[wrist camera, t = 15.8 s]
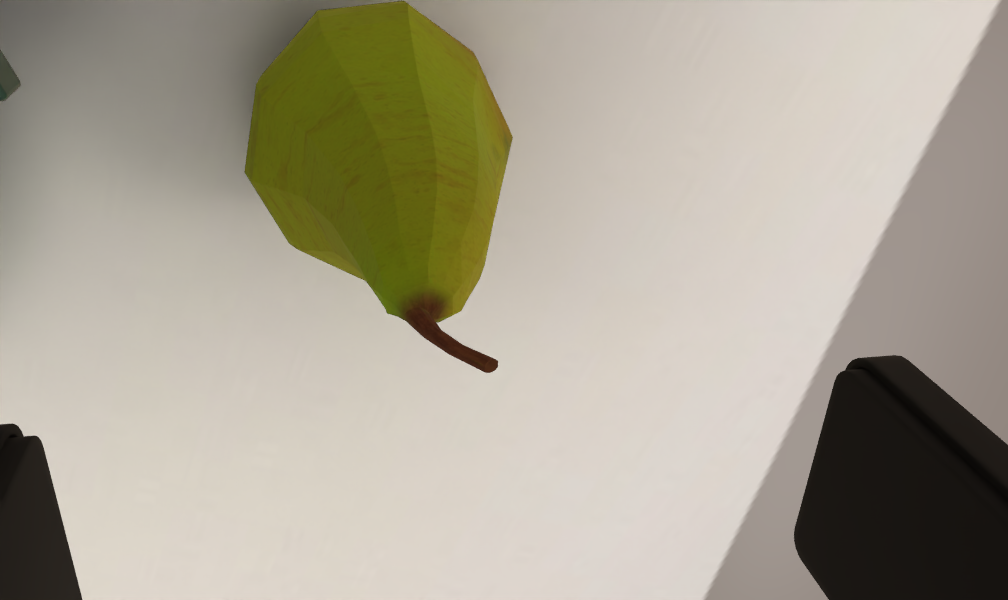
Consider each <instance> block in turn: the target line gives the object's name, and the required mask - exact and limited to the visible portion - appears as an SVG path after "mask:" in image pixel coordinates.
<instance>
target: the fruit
mask: <svg viewBox="0 0 1008 600" xmlns="http://www.w3.org/2000/svg"><path fill="white" fill-rule="evenodd" d="M512 138H513V137H512V135H511V132H510V130H509V128H508V125H507V123H506V121H505V119H504V117H503V115H502V112H501V110H500V108H499V106H498V104H497V102H496V100H495V97H494V95H493V93H492V91H491V89H490V86H489V84H488V82H487V80H486V78H485V75H484V73H483V71H482V69H481V66H480V64H479V62H478V60H477V58H476V56H475V55H474V53H473V52H472V51H471V50H470V49H468V48H467V47H466V46H464V45H463V44H462V43H460V42H459V41H458V40H456V39H455V38H453V37H452V36H451V35H449V34H448V33H447V32H445V31H444V30H443V29H441V28H440V27H439V26H437V25H436V24H435V23H433V22H432V21H431V20H429V19H428V18H427V17H425V16H424V15H422V14H421V13H420V12H418V11H417V10H416V9H414V8H413V7H412V6H410V5H409V4H408V3H406V2H405V1H397V2H388V3H379V4H370V5H362V6H353V7H344V8H335V9H326V10H318V11H317V12H316V13H315V14H314V15H313V16H312V18H311V19H310V20H309V21H308V22H307V23H306V24H305V26H304V27H303V28H302V29H301V30H300V31H299V33H298V34H297V35H296V36H295V37H294V38H293V39H292V41H291V42H290V43H289V44H288V45H287V46H286V47H285V49H284V50H283V51H282V52H281V53H280V54H279V55H278V57H277V58H276V59H275V60H274V61H273V62H272V64H271V65H270V66H269V67H268V68H267V69H266V70H265V72H264V73H263V74H262V75H261V77H260V78H259V80H258V82H257V84H256V89H255V97H254V104H253V112H252V119H251V127H250V134H249V142H248V149H247V157H246V164H245V174H246V175H247V177H248V179H249V180H250V182H251V183H252V185H253V187H254V188H255V190H256V191H257V193H258V194H259V196H260V198H261V199H262V201H263V202H264V204H265V206H266V207H267V209H268V210H269V212H270V214H271V215H272V217H273V218H274V220H275V222H276V223H277V225H278V226H279V228H280V230H281V231H282V233H283V234H284V236H285V238H286V239H287V241H288V242H289V244H291V245H292V246H294V247H295V248H296V249H298V250H300V251H302V252H305V253H307V254H309V255H311V256H313V257H315V258H317V259H320V260H322V261H324V262H326V263H328V264H330V265H333V266H335V267H337V268H339V269H341V270H343V271H345V272H348V273H350V274H352V275H354V276H356V277H358V278H361V279H363V280H365V281H366V282H367V283H368V284H369V286H370V287H371V288H372V290H373V291H374V293H375V294H376V295H377V297H378V298H379V300H380V301H381V303H382V304H383V306H384V307H385V309H386V312H387V313H388V314H392V315H395V316H398V317H400V318H401V319H403V320H405V321H407V322H408V323H409V324H410V325H411V326H412V327H413V328H414V329H415V330H416V331H417V332H419V333H420V334H421V335H422V336H423V337H424V338H426V339H427V340H429V341H430V342H432V343H433V344H435V345H436V346H437V347H439V348H440V349H442V350H443V351H445V352H446V353H448V354H450V355H452V356H454V357H456V358H458V359H460V360H462V361H464V362H466V363H468V364H470V365H472V366H474V367H476V368H477V369H479V370H481V371H483V372H486V373H490V372H492V371H495V370H496V368H497V367H498V361H497V360H496V359H493V358H491V357H489V356H487V355H484V354H482V353H480V352H478V351H475V350H473V349H471V348H469V347H466V346H464V345H462V344H461V343H459V342H458V341H456V340H455V339H453V338H452V337H451V336H449V335H448V334H446V333H445V332H443V331H442V330H441V329H440V328H439V326H438V325H437V323H436V322H440V321H442V320H444V319H446V318H448V317H450V316H452V315H454V314H456V313H458V312H460V311H461V310H462V308H463V307H464V305H465V303H466V301H467V299H468V297H469V296H470V294H471V292H472V291H473V289H474V287H475V286H476V284H477V283H478V281H479V279H480V276H481V273H482V270H483V268H484V265H485V260H486V255H487V250H488V245H489V241H490V236H491V231H492V226H493V221H494V217H495V212H496V208H497V204H498V199H499V195H500V190H501V186H502V182H503V177H504V173H505V169H506V164H507V160H508V155H509V151H510V147H511V142H512Z"/></svg>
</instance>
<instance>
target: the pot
mask: <svg viewBox="0 0 1008 600" xmlns="http://www.w3.org/2000/svg"><path fill="white" fill-rule="evenodd" d="M20 86H21V83H20V80H19V79H18V77H17V75H16V74H15V72H14V71H13V69H12V67H11V66H10V64H9V62H8V61H7V59H6V58H5V56H4V54H3V53H2V51H1V50H0V102H2V101H5V100H6V99H7V98H8V97H9V96H10V95H11V94H12V93H13V92H15V91H16V90H17V89H18V88H19V87H20Z"/></svg>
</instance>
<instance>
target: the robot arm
mask: <svg viewBox="0 0 1008 600" xmlns="http://www.w3.org/2000/svg"><path fill="white" fill-rule="evenodd" d="M794 541H795V546H796V550H797V552H798V555H799V557H800V558H801V560H802V562H803V563H804V565H805V566H806V568H807V569H808V570H809V572H810V573H811V575H812V576H813V578H814V579H815V580H816V582H817V583H818V585H819V586H820V588H821V589H822V590H823V592H824V593H825V595H826V596H827V597H828V599H829V600H1008V445H1007V444H1006V443H1005V442H1004V441H1002V440H1001V439H1000V438H999V437H998V436H997V435H995V434H994V433H993V432H992V431H991V430H990V429H988V428H987V427H986V426H985V425H984V424H982V423H981V422H980V421H979V420H978V419H977V418H975V417H974V416H973V415H972V414H970V412H968V411H967V410H966V409H965V408H964V407H963V406H961V405H960V404H959V403H958V402H957V401H955V400H954V399H953V398H952V397H951V396H950V395H948V394H947V393H946V392H945V391H944V390H943V389H941V388H940V387H939V386H938V385H937V384H936V383H934V382H933V381H932V380H931V379H929V378H928V377H927V376H926V375H925V374H924V373H923V372H921V371H920V370H919V369H918V368H917V367H916V366H914V365H913V364H912V363H911V362H910V361H908V360H907V359H905V358H904V357H902V356H896V355H893V356H880V357H867V358H857V359H855V360H852V361H851V362H850V363H849V364H848V366H847V368H846V370H845V371H842V372H840V373H839V374H838V375H837V377H836V380H835V382H834V386H833V389H832V393H831V397H830V400H829V404H828V408H827V411H826V415H825V419H824V423H823V426H822V430H821V434H820V437H819V441H818V445H817V448H816V452H815V456H814V460H813V463H812V467H811V470H810V474H809V478H808V482H807V486H806V489H805V493H804V496H803V500H802V504H801V507H800V511H799V515H798V519H797V522H796V526H795V531H794ZM0 600H82V596H81V592H80V589H79V585H78V581H77V577H76V573H75V569H74V565H73V561H72V557H71V553H70V549H69V546H68V542H67V538H66V534H65V530H64V526H63V522H62V518H61V514H60V510H59V506H58V502H57V499H56V495H55V491H54V487H53V483H52V479H51V475H50V471H49V467H48V463H47V459H46V456H45V452H44V448H43V445H42V442H41V440H40V439H39V437H37V436H25V437H24V436H23V434H22V431H21V430H20V428H19V427H18V426H17V425H15V424H1V425H0Z"/></svg>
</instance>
